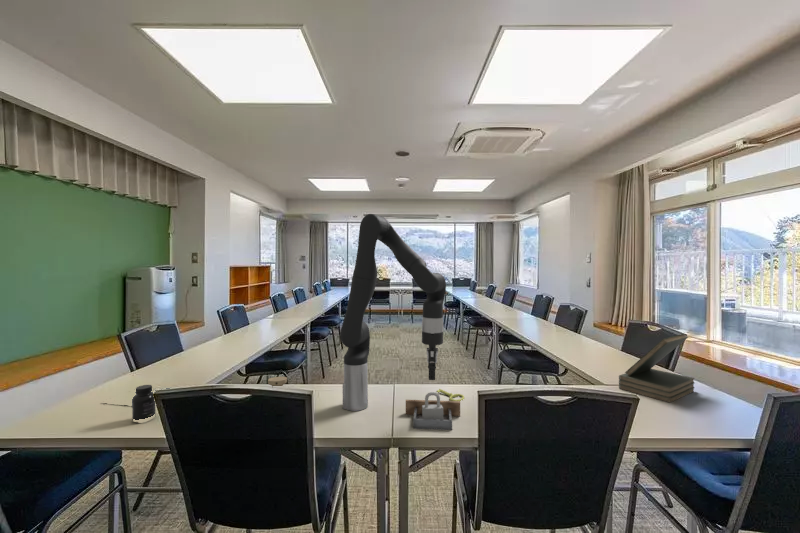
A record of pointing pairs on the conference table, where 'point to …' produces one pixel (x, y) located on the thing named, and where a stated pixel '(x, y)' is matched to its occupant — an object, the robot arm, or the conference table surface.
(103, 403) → the conference table surface
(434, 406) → the padlock
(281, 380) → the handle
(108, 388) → the conference table surface
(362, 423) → the conference table surface
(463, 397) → the key
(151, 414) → the supplement bottle
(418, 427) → the grey metal tray
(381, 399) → the conference table surface
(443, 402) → the door strip
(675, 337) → the dark grey angled piece
